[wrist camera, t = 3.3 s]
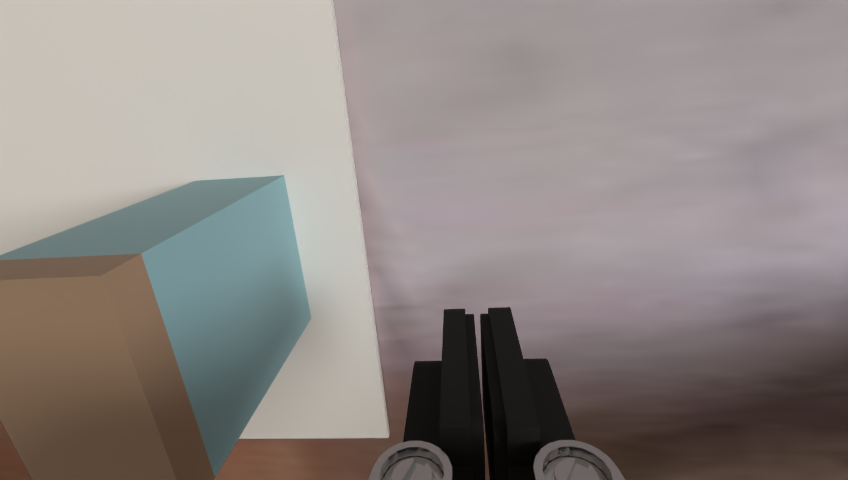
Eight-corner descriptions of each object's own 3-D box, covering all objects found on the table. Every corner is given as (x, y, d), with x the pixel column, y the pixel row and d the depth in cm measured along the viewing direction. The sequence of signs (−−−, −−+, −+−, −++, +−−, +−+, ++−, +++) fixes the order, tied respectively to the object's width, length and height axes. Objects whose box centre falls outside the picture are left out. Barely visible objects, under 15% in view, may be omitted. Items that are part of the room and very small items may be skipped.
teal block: (284, 175, 18) (100, 276, 9) (311, 318, 20) (190, 517, 11) (195, 180, 18) (-74, 283, 9) (232, 320, 21) (50, 515, 11)
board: (328, -34, 16) (325, -37, 15) (389, 432, 23) (388, 437, 23) (-148, 17, 17) (-161, 15, 17) (54, 434, 25) (48, 439, 25)
